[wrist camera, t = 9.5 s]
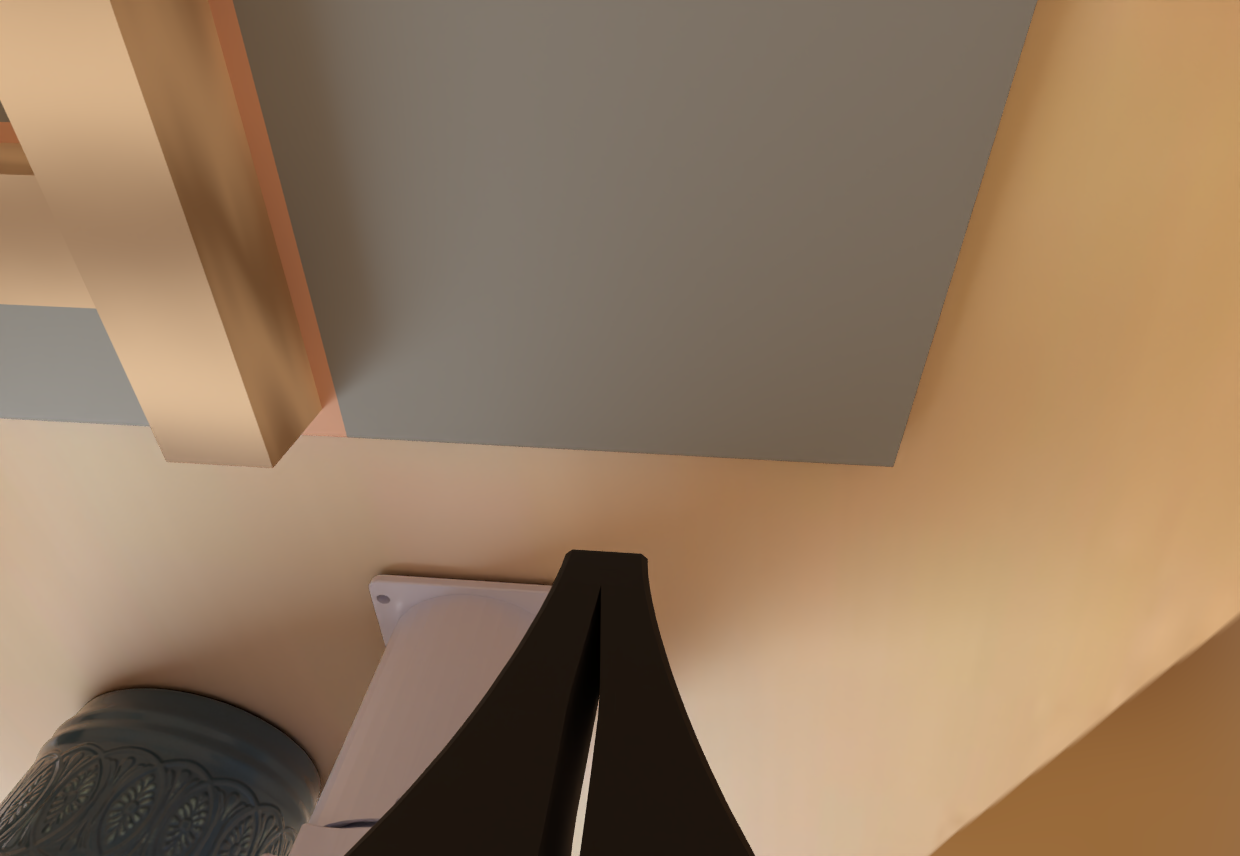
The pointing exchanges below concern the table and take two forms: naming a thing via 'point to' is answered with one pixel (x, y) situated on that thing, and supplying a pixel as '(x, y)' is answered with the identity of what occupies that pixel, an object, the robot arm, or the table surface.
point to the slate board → (597, 218)
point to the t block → (151, 219)
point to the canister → (161, 782)
